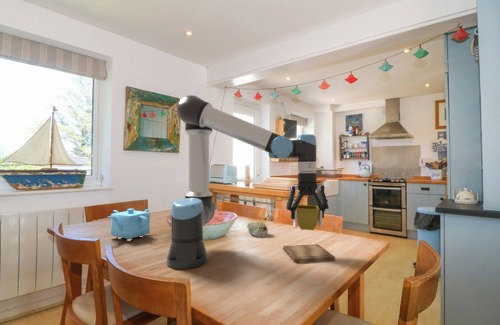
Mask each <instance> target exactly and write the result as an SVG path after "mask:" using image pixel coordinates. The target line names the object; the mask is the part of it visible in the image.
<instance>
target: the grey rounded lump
mask: <svg viewBox="0 0 500 325" xmlns="http://www.w3.org/2000/svg"><path fill="white" fill-rule="evenodd" d="M247 230H248V233H249V234H250V235H252V236H254V237H256V238H259V239H261V238H267V237H268V234H269V233H268V232H269V231H268V230H269V229H268V227H267V225H266V224H265V223H264V222H263V221H259V220H257V221H251V222H250V221H249V222H247Z"/></svg>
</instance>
